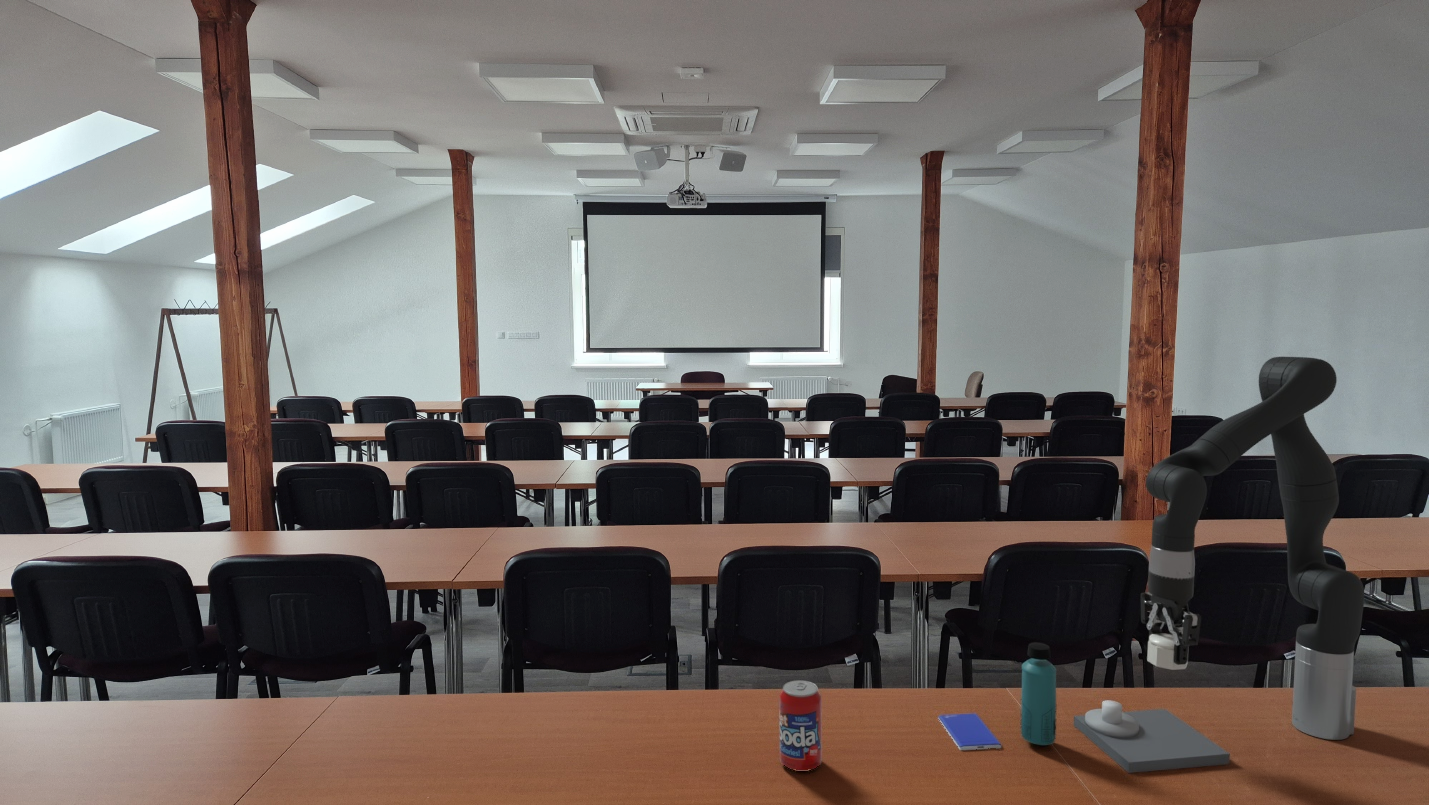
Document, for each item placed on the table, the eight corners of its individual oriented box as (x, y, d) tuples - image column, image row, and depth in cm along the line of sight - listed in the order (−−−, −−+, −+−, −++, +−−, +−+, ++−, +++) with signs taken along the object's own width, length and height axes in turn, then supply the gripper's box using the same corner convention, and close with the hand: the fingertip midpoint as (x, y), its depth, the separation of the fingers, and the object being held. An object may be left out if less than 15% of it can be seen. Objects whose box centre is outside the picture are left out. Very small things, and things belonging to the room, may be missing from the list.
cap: (1171, 654, 160) (1172, 632, 160) (1194, 668, 154) (1195, 645, 153) (1140, 656, 159) (1141, 634, 159) (1163, 670, 153) (1164, 647, 152)
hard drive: (938, 715, 170) (960, 745, 158) (976, 712, 171) (1001, 743, 159) (938, 722, 170) (960, 753, 158) (976, 720, 171) (1001, 750, 159)
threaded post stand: (1164, 718, 169) (1165, 688, 169) (1229, 764, 152) (1230, 730, 151) (1073, 725, 167) (1074, 695, 166) (1128, 773, 149) (1129, 739, 149)
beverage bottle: (1059, 754, 156) (1061, 652, 154) (1022, 751, 157) (1024, 650, 155) (1052, 737, 162) (1054, 639, 160) (1016, 734, 164) (1018, 637, 162)
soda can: (825, 757, 156) (825, 681, 155) (817, 778, 149) (816, 699, 148) (785, 750, 159) (785, 676, 158) (775, 771, 152) (774, 693, 150)
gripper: (1217, 581, 148) (1212, 670, 150) (1163, 559, 162) (1160, 641, 164) (1179, 583, 147) (1175, 673, 149) (1128, 560, 161) (1125, 643, 163)
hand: (1167, 656), depth 156 cm, fingers closed on cap, 6 cm apart
